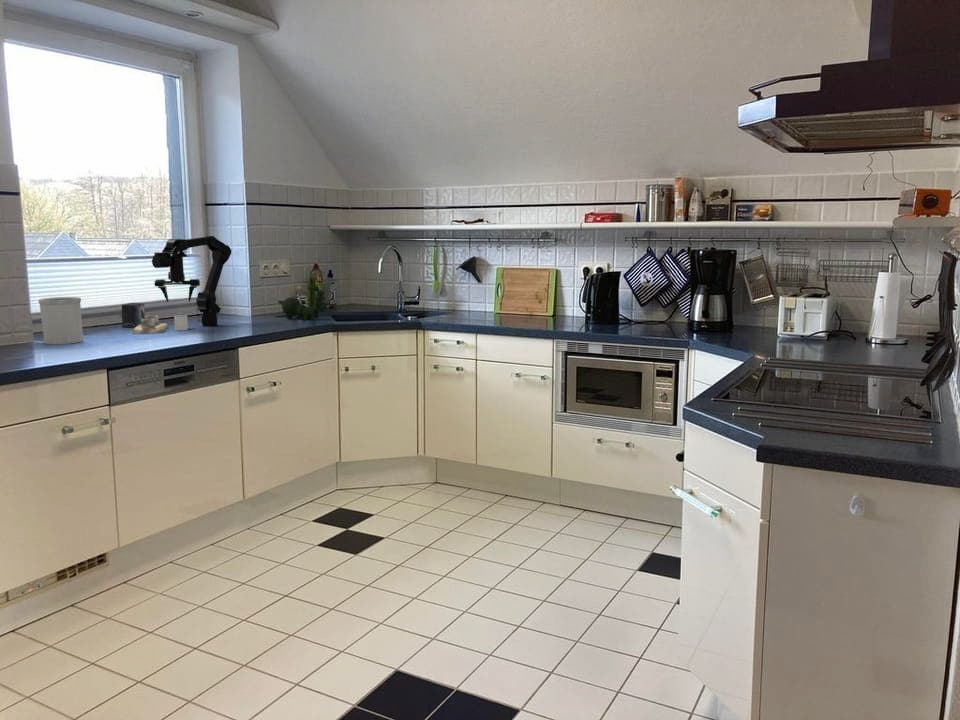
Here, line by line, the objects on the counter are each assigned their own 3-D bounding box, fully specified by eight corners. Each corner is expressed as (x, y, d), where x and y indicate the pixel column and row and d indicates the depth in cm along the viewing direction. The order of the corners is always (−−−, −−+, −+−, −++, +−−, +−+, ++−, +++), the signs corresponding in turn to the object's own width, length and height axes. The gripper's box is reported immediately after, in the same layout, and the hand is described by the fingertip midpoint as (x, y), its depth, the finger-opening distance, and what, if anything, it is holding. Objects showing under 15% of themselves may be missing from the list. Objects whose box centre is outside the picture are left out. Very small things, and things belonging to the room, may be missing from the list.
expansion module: (187, 328, 352) (187, 315, 351) (186, 330, 347) (186, 316, 346) (176, 328, 351) (175, 315, 350) (175, 330, 345) (174, 316, 344)
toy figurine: (325, 322, 394) (281, 316, 399) (328, 285, 390) (283, 279, 396) (317, 324, 385) (272, 318, 390) (319, 287, 381) (274, 281, 387)
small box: (135, 327, 353) (134, 304, 351) (121, 327, 353) (120, 304, 352) (146, 324, 364) (144, 302, 362) (132, 324, 364) (131, 302, 362)
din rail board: (167, 326, 357) (166, 314, 356) (162, 332, 336) (161, 320, 335) (139, 327, 354) (138, 315, 353) (132, 333, 333) (131, 320, 332)
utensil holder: (55, 345, 297) (51, 300, 295) (34, 342, 305) (30, 298, 302) (91, 341, 310) (88, 298, 307) (70, 338, 318) (67, 296, 315)
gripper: (199, 266, 354) (201, 299, 357) (156, 266, 349) (158, 300, 352) (198, 267, 344) (200, 302, 347) (153, 267, 339) (155, 303, 341)
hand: (178, 301), depth 347 cm, fingers open, 9 cm apart
